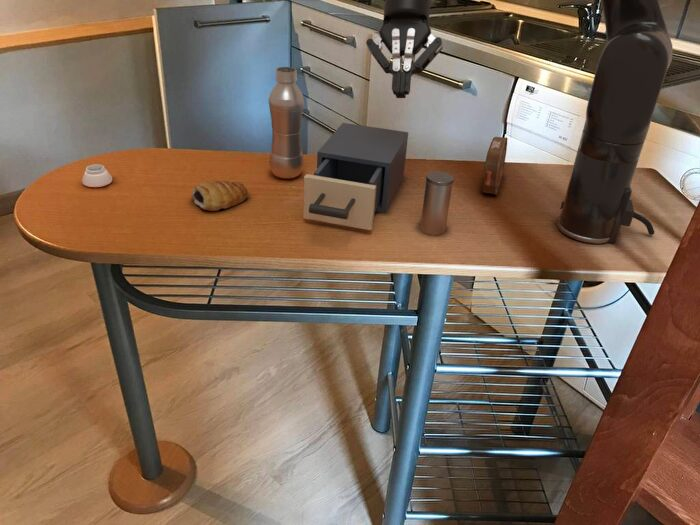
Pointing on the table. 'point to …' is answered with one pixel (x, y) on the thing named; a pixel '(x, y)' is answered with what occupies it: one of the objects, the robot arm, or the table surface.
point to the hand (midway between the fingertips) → (400, 96)
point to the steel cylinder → (436, 202)
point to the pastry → (218, 194)
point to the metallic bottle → (286, 124)
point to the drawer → (344, 193)
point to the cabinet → (370, 153)
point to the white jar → (96, 176)
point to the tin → (494, 165)
